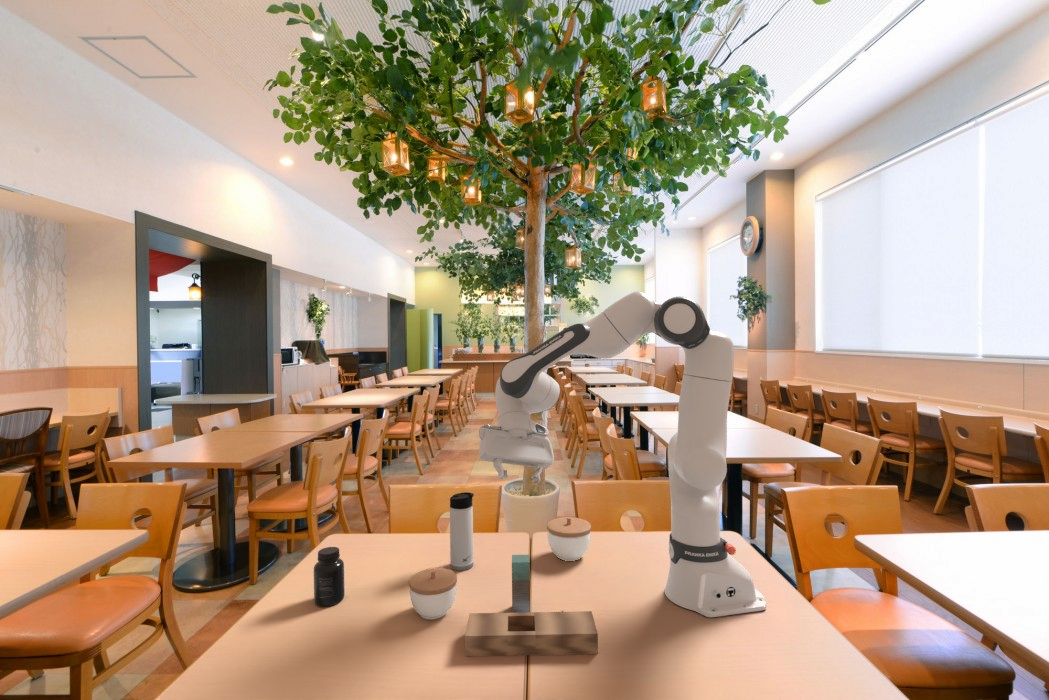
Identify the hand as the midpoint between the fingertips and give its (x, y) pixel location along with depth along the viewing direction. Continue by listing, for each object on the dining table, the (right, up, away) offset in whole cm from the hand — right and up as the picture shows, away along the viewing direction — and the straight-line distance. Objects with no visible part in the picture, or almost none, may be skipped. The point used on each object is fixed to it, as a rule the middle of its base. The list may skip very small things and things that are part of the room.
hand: (520, 480), depth 119 cm
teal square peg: (0, -28, -7) cm, 29 cm away
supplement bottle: (-46, -28, -2) cm, 54 cm away
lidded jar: (-20, -28, -8) cm, 35 cm away
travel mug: (-16, -28, +15) cm, 36 cm away
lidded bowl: (+14, -27, +21) cm, 37 cm away
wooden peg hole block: (+2, -28, -19) cm, 34 cm away
